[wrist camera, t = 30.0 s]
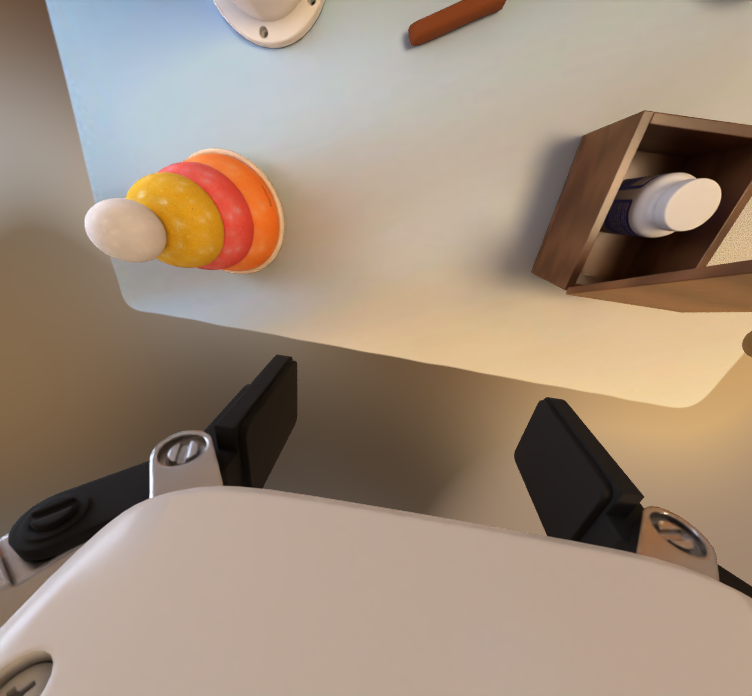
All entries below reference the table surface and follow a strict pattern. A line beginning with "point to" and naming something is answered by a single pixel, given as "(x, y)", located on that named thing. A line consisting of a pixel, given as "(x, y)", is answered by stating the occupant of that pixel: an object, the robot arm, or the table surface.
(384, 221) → the table surface
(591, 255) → the chest
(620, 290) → the lid
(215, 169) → the stacking toy
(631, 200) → the pill bottle
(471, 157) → the table surface
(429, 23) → the brown screwdriver
